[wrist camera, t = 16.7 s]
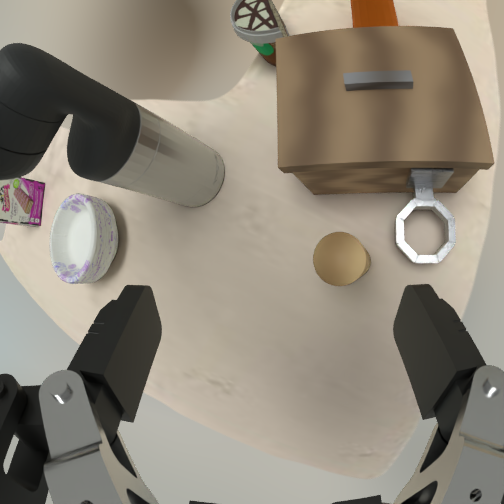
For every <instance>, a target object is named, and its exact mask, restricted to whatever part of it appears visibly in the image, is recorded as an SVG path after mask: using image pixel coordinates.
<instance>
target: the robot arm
mask: <svg viewBox="0 0 504 504" xmlns="http://www.w3.org/2000/svg"><path fill="white" fill-rule="evenodd" d="M68 114H73V119H72V124H71V128H70V133H69V137H68V144H67V157H68V162H69V165H70V167H71V169H72V170H73V172H74V173H75V174H77V175H78V176H80V177H83V178H85V179H89V180H93V181H98V182H101V183H105V184H109V185H113V186H116V187H121V188H124V189H128V190H132V191H135V192H139V193H142V194H146V195H149V196H153V197H157V198H160V199H164V200H167V201H170V202H174V203H177V204H181V205H184V206H188V207H198V206H201V205H204V204H206V203H207V202H209V201H210V200H211V199H212V198H214V196H215V195H216V194H217V193H218V191H219V189H220V187H221V185H222V182H223V179H224V164H223V161H222V159H221V157H220V155H219V154H218V153H217V152H216V151H215V150H213V149H211V148H210V147H208V146H207V145H205V144H204V143H202V142H201V141H199V140H197V139H196V138H194V137H193V136H191V135H189V134H188V133H186V132H184V131H183V130H181V129H179V128H178V127H176V126H174V125H173V124H171V123H169V122H168V121H166V120H164V119H163V118H161V117H159V116H158V115H156V114H154V113H152V112H150V111H149V110H147V109H145V108H143V107H142V106H140V105H138V104H136V103H135V102H133V101H131V100H129V99H127V98H125V97H124V96H122V95H120V94H118V93H116V92H115V91H113V90H111V89H109V88H108V87H106V86H104V85H102V84H100V83H99V82H97V81H95V80H93V79H91V78H89V77H88V76H86V75H84V74H83V73H81V72H79V71H77V70H75V69H74V68H72V67H71V66H69V65H67V64H66V63H64V62H62V61H61V60H59V59H57V58H56V57H54V56H52V55H50V54H49V53H46V52H44V51H43V50H41V49H38V48H36V47H33V46H31V45H27V44H22V43H13V44H9V45H7V46H5V47H3V48H2V49H1V50H0V180H9V179H15V178H18V177H21V176H24V175H26V174H28V173H30V172H31V171H32V170H33V169H34V168H35V167H36V166H37V165H38V163H39V162H40V160H41V159H42V157H43V155H44V154H45V152H46V150H47V148H48V147H49V145H50V143H51V141H52V140H53V138H54V136H55V134H56V133H57V131H58V129H59V128H60V126H61V124H62V123H63V121H64V119H65V118H66V116H67V115H68ZM393 332H394V339H395V341H396V344H397V347H398V349H399V352H400V354H401V357H402V360H403V363H404V365H405V368H406V371H407V374H408V376H409V379H410V382H411V385H412V388H413V391H414V394H415V397H416V400H417V403H418V406H419V409H420V412H421V415H422V419H423V420H424V419H429V418H433V417H436V419H437V422H438V423H437V424H436V425H435V427H434V429H433V431H432V434H431V436H430V439H429V441H428V444H427V446H426V448H425V451H424V453H423V455H422V457H421V460H420V462H419V464H418V466H417V468H416V470H415V472H414V474H413V476H412V477H411V479H410V481H409V482H408V483H407V484H406V486H405V487H404V488H403V489H402V491H401V492H400V494H399V495H398V496H397V498H396V500H395V502H394V503H393V504H500V503H501V504H504V372H503V371H502V370H501V369H499V368H498V367H495V366H491V365H486V363H485V362H484V360H483V358H482V356H481V354H480V352H479V350H478V349H477V347H476V345H475V344H474V342H473V340H472V338H471V336H470V335H469V333H468V332H467V331H466V328H465V326H464V325H463V323H462V322H460V318H459V316H458V315H457V313H456V312H455V310H454V308H452V307H451V306H450V305H449V304H448V303H447V302H445V301H444V300H443V299H439V298H438V296H437V294H436V293H435V291H434V290H433V288H432V287H431V286H430V285H429V284H420V285H407V286H406V288H405V290H404V292H403V296H402V299H401V302H400V305H399V309H398V312H397V315H396V318H395V321H394V327H393ZM161 334H162V326H161V321H160V317H159V313H158V310H157V306H156V302H155V299H154V295H153V291H152V289H151V287H150V286H143V285H126V286H125V287H124V289H123V291H122V292H121V294H120V296H119V297H118V299H117V300H112V301H110V302H109V303H108V304H107V305H106V306H105V307H103V308H102V309H101V310H100V312H99V313H98V315H97V317H96V318H95V320H94V324H92V325H91V327H90V329H89V330H88V334H86V336H85V337H84V339H83V341H82V343H81V345H80V347H79V348H78V350H77V352H76V354H75V356H74V358H73V360H72V361H71V363H70V365H69V367H68V368H67V370H61V371H57V372H55V373H53V374H51V375H50V376H49V377H47V378H46V379H45V381H44V382H43V383H42V385H38V386H37V385H36V386H20V385H19V384H18V382H17V381H16V379H15V378H14V377H13V376H12V375H9V374H1V375H0V504H45V502H46V498H47V494H48V490H49V492H50V495H51V498H52V501H53V504H159V503H158V502H157V500H156V498H155V497H154V495H153V494H152V493H151V491H150V490H149V489H148V487H147V486H146V485H145V483H144V482H143V480H142V479H141V476H140V474H139V473H138V471H137V469H136V467H135V465H134V463H133V461H132V459H131V456H130V454H129V452H128V450H127V448H126V446H125V444H124V441H123V439H122V437H121V434H120V432H119V431H118V427H119V423H120V421H121V420H122V421H127V422H134V419H135V416H136V412H137V409H138V406H139V403H140V400H141V396H142V393H143V390H144V387H145V384H146V381H147V378H148V375H149V372H150V369H151V366H152V363H153V360H154V357H155V354H156V352H157V349H158V346H159V343H160V340H161ZM13 435H15V436H16V437H17V438H18V439H19V441H18V444H17V447H16V450H15V452H14V455H13V458H12V461H11V464H10V468H9V470H8V473H7V474H5V472H4V468H3V463H4V459H5V457H6V454H7V451H8V448H9V446H10V443H11V440H12V438H13ZM189 504H214V503H204V502H197V501H190V502H189ZM332 504H389V503H382V502H381V496H380V495H377V496H372V497H367V498H361V499H355V500H348V501H341V502H335V503H332Z"/></svg>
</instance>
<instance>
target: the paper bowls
mask: <svg viewBox="0 0 504 504" xmlns="http://www.w3.org/2000/svg"><path fill="white" fill-rule="evenodd" d="M117 247H118V230H117V226H116V221H115V217H114V214H113V211H112V210H111V208H110V207H109V205H108V204H107V203H106V202H105V201H103V200H102V199H99V198H96V197H92V196H88V195H84V194H79V193H78V194H73V195H71V196H69V197H68V198H67V199H65V200H64V201H63V203H62V204H61V205H60V207H59V209H58V210H57V212H56V215H55V217H54V220H53V223H52V227H51V233H50V256H51V261H52V265H53V267H54V270H55V272H56V274H57V275H58V276H59V278H60V279H61V280H63V281H64V282H67V283H71V284H77V283H80V284H83V283H93V282H95V281H97V280H99V279H100V278H101V277H102V276H103V275H104V274H105V273H106V272H107V270H108V268H109V266H110V264H111V262H112V261H113V259H114V257H115V254H116V251H117Z"/></svg>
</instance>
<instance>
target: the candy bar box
mask: <svg viewBox="0 0 504 504" xmlns="http://www.w3.org/2000/svg"><path fill="white" fill-rule="evenodd" d="M44 188H45V183H43V182H38V181H34V180H30V179H25V178H21V177H18V178H15V179H9V180H0V223H7V224H15V225H23V226H31V227H34V226H40V225H41V213H42V204H43V195H44Z"/></svg>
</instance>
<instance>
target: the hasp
mask: <svg viewBox="0 0 504 504" xmlns="http://www.w3.org/2000/svg"><path fill="white" fill-rule="evenodd" d="M453 173H454V170H453V168H410V170H409V174H408V177H407V180H406V188H413V196H414V199H413V200H411V201H410V202H409V203H408V204H407V206H406V207H405V208H404V209H403V210H402V211H401V212H400V213H399V214H398V216H397V217H396V220H395V240H396V244H398V245H397V247H398V248H399V249H400V250H401V251H402V252H403V253H404V255H405V256H406V257H407V258H408V259H409V260H410V261H411V262H413V263H438V262H441V260H442V259H443V258H444V257H445V256H446V255H447V254H448V253H449V251H450V250H451V249H452V248H453V247H454V246H455V244H454V243H456V232H455V218H453V217H454V216H453V215H452V214H451V213H450V212H449V211H448V210H447V208H446V207H445V206H444V205H443V204H442V203H441V202H440V201H439V200H437V201H436V199H434V196H433V188H442V187H443V186H444V184H445V183H446V182H447V181H448V179H449V178H450V177H451V175H452V174H453ZM413 210H432V211H433V212H434V213H435V214H436V215H437V216H438V217H439V218H440V219H441V220H442V221H443V222H444V227H445V243H444V244H443V245H442V246H441V247H440V248H439V249H438V251H437V252H436V253H435V254H434V255H417V254H416V253H415V252H414V251H413V249H412V248H411V247H410V246H409V245H408V244H407V243H406V242H405V241H404V220H405V219H406V218H407V217H408V216H409V215H410V214H411V212H412V211H413Z"/></svg>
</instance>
